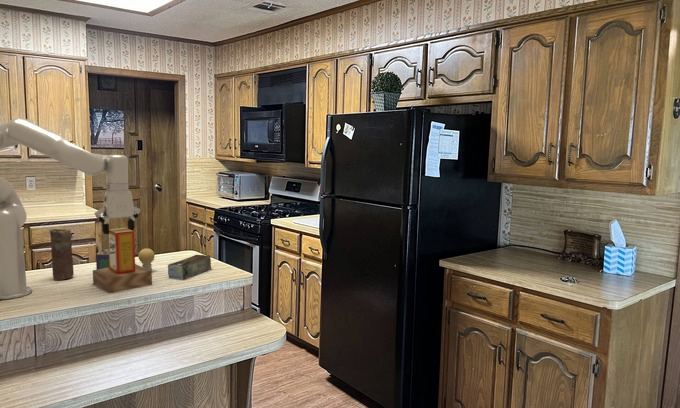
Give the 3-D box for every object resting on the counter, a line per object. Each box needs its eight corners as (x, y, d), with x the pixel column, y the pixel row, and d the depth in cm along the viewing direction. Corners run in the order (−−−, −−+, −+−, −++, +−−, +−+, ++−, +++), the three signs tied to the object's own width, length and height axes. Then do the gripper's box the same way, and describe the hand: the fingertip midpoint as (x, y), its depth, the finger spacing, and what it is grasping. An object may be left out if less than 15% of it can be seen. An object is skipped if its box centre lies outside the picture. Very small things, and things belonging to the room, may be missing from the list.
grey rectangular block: (167, 278, 202) (166, 262, 201) (197, 267, 220) (196, 253, 219) (183, 280, 199) (182, 264, 198) (212, 269, 217) (211, 254, 216)
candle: (54, 276, 203) (51, 228, 200) (74, 275, 206) (71, 227, 203) (51, 281, 196) (48, 231, 193) (73, 279, 199) (70, 230, 196)
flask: (120, 274, 208) (118, 248, 206) (116, 276, 205) (115, 250, 203) (98, 273, 208) (97, 248, 207) (94, 275, 205) (93, 250, 204)
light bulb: (139, 270, 213) (138, 247, 212) (155, 269, 216) (154, 246, 214) (138, 274, 207) (137, 250, 206) (155, 273, 210) (154, 249, 208)
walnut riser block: (109, 294, 182) (108, 278, 181) (93, 285, 193) (92, 270, 192) (152, 285, 193) (151, 270, 192) (134, 277, 204) (133, 263, 203)
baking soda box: (135, 271, 191) (133, 230, 189) (117, 274, 187) (115, 231, 185) (126, 266, 198) (125, 226, 196) (109, 269, 194) (107, 228, 192)
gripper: (99, 189, 179) (100, 236, 181) (144, 187, 192) (145, 231, 195) (89, 188, 184) (91, 233, 186) (134, 185, 197) (135, 228, 199)
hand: (118, 232), depth 190 cm, fingers open, 9 cm apart
